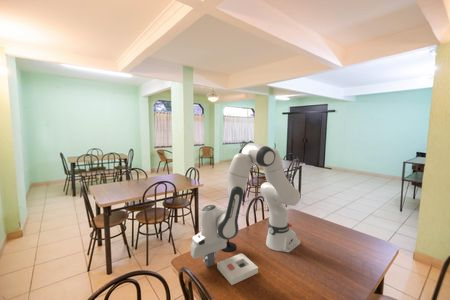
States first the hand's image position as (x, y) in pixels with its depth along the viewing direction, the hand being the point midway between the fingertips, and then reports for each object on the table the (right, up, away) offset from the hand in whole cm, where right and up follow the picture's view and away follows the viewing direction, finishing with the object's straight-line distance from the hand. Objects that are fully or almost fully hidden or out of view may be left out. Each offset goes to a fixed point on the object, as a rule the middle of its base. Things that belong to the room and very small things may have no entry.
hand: (209, 259), depth 112 cm
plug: (0, -2, 0) cm, 2 cm away
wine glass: (+10, -1, +16) cm, 19 cm away
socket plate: (+15, -3, -5) cm, 16 cm away
